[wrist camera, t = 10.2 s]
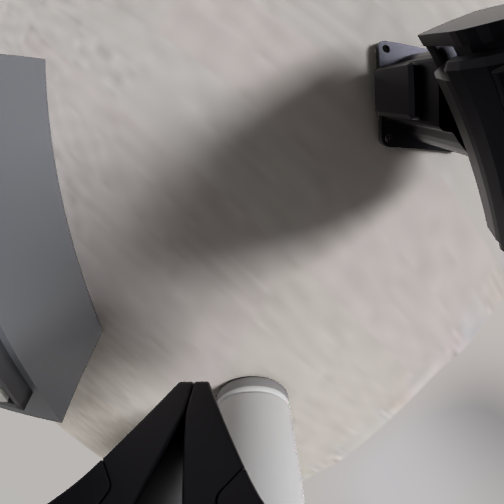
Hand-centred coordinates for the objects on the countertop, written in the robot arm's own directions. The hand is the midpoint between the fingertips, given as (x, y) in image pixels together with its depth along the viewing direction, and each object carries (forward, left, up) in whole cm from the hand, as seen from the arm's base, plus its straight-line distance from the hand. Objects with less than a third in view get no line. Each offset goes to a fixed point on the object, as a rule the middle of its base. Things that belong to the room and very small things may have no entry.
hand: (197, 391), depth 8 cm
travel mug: (-1, +16, -12) cm, 20 cm away
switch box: (+14, -3, -12) cm, 19 cm away
